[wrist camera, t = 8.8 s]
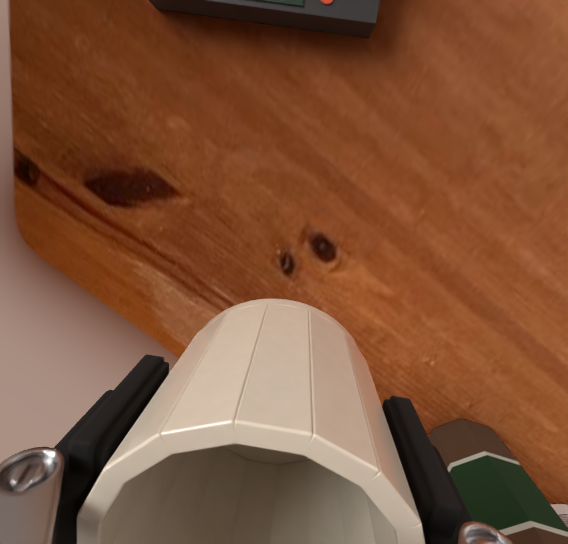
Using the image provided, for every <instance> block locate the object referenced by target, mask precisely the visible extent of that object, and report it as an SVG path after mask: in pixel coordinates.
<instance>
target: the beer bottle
mask: <svg viewBox="0 0 568 544" xmlns="http://www.w3.org/2000/svg"><path fill="white" fill-rule="evenodd" d="M429 440H430V442H431V444H432V445H434V446H435V447H436V448H437V449H438V451H439V453H440V455H441V457H442V459H443V461H444V463H445V465H446V467H447V469H448V471H449V473H450V475H451V477H452V479H453V481H454V483H455V485H456V487H457V489H458V491H459V493H460V496H461V498H462V500H463V502H464V504H465V506H466V508H467V510H468V512H469V514H470V516H471V518H472V520H473V521H476V522H482V523H485V524H487V525H489V526H492V527H494V528H495V529H497V530H498V531H500V532H501V533H503V534H504V535H505V536H506V537H507V538H508V539H510V540H511V541H512V542H513V543H514V544H568V527H567V526H566V525H565V523H564V522H563V521H562V519H561V518H560V517H559V515H558V514H557V513H556V511H555V510H554V509H553V507H552V506H551V505H550V503H549V502H548V501H547V499H546V498H545V497H544V495H543V494H542V493H541V492H540V490H539V489H538V488H537V486H536V485H535V484H534V482H533V481H532V480H531V478H530V477H529V476H528V474H527V473H526V472H525V470H524V469H523V468H522V466H521V465H520V464H519V462H518V461H517V460H516V458H515V457H514V456H513V454H512V453H511V452H510V450H509V449H508V448H507V446H506V445H505V444H504V442H503V441H502V440H501V439H500V438H499V436H498V435H497V434H496V433H495V432H494V431H493V429H492V428H490V427H487V426H484V425H481V424H477V423H474V422H471V421H468V420H465V419H458V420H455V421H453V422H450V423H447V424H445V425H442V426H439V427H437V428H434V429H433V431H432V433H431V435H430V437H429Z"/></svg>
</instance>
